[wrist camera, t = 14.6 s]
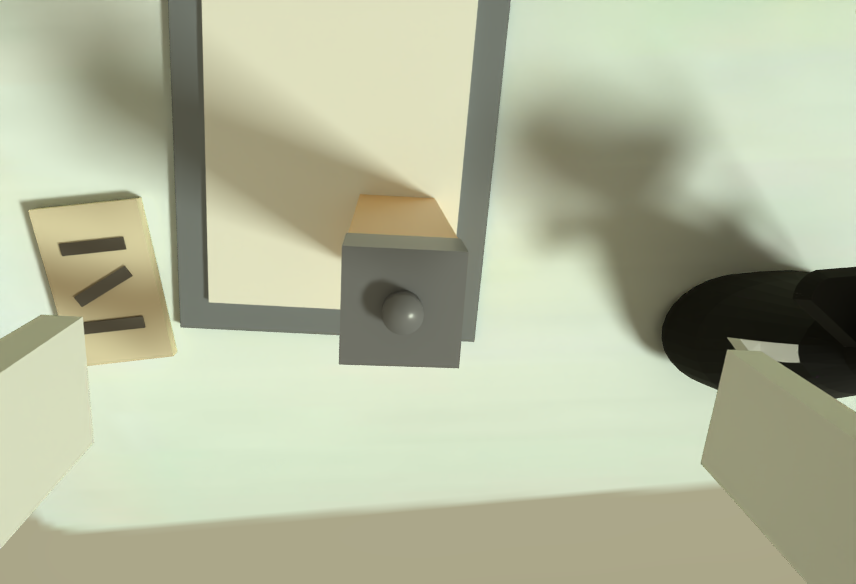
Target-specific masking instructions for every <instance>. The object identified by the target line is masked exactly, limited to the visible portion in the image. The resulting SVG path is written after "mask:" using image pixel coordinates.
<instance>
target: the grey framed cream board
mask: <svg viewBox="0 0 856 584" xmlns="http://www.w3.org/2000/svg"><path fill="white" fill-rule="evenodd" d="M510 1H511V0H168V6H169V33H170V60H171V86H172V113H173V140H174V166H175V193H176V219H177V246H178V273H179V299H180V326H181V327H185V328H205V329H225V330H246V331H266V332H286V333H306V334H327V335H340V301H341V260H342V244H343V241H344V238H345V235H346V233H348V231H349V228H350V225H351V222H352V218H353V215H354V212H355V209H356V205H357V202H358V199H359V195H360V194H366V195H384V196H402V197H420V198H435V200H436V201H437V203H438V205H439V207H440V208H441V210H442V212H443V213H444V215H445V217H446V219H447V220H448V222H449V224H450V225H451V227H452V229H453V231H454V232H455V234H456V236H457V237H458V238H461V240H462V242H463V243H464V245H465V247H466V248H467V250H468V252H469V255H468V267H467V279H466V290H465V302H464V314H463V326H462V338H461V341H468V342H474V339H475V330H476V320H477V311H478V301H479V292H480V283H481V273H482V264H483V254H484V245H485V236H486V226H487V217H488V208H489V198H490V189H491V179H492V170H493V161H494V151H495V142H496V133H497V123H498V114H499V104H500V95H501V86H502V76H503V67H504V57H505V48H506V39H507V29H508V20H509V11H510Z"/></svg>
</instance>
